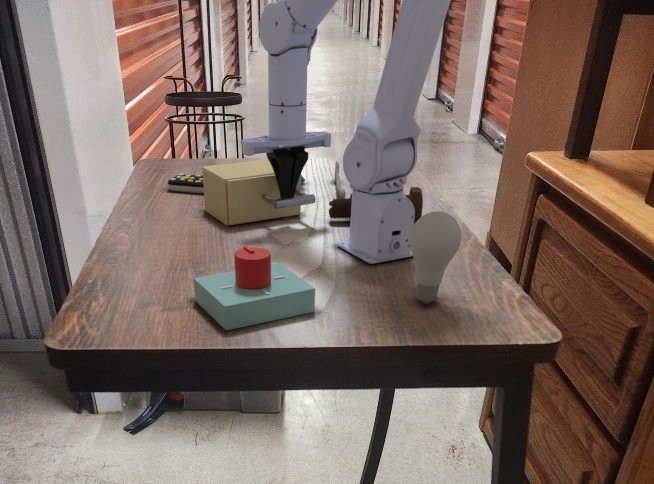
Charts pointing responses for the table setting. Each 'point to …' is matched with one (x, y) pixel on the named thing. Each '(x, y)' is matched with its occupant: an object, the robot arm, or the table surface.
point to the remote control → (187, 183)
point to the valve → (252, 267)
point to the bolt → (343, 206)
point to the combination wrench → (338, 183)
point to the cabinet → (218, 187)
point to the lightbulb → (433, 250)
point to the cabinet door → (262, 199)
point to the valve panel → (254, 298)
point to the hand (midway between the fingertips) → (287, 199)
